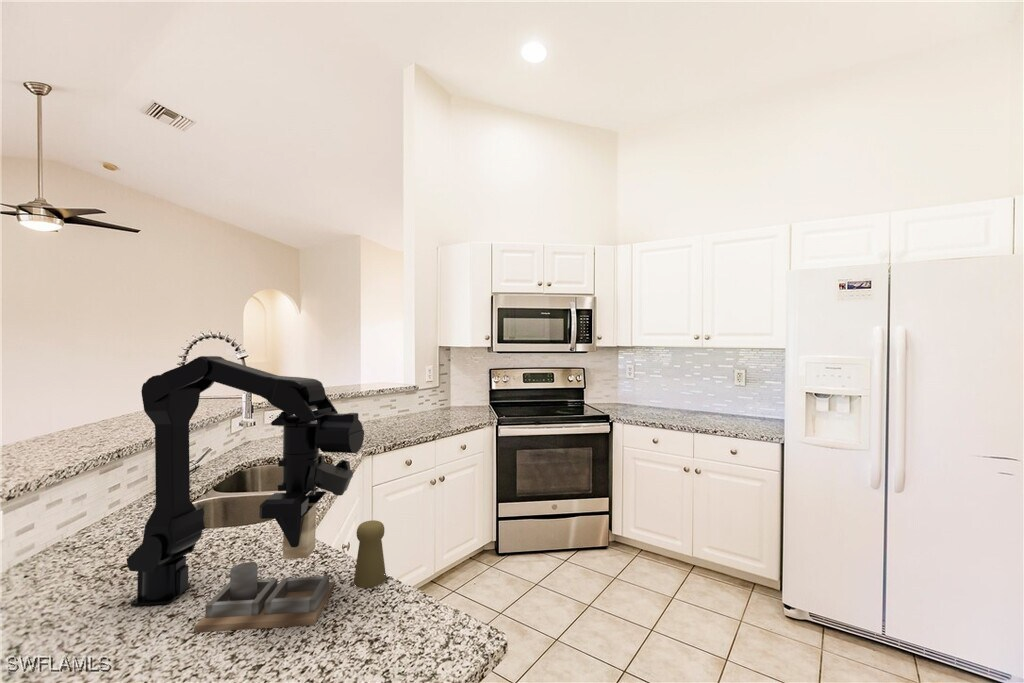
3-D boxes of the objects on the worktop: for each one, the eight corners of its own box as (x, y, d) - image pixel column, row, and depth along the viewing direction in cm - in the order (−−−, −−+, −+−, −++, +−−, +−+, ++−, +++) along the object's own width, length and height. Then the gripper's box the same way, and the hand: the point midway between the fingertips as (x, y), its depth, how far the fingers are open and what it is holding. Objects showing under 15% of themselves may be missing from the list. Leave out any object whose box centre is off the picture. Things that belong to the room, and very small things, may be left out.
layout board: (194, 632, 71) (195, 586, 71) (232, 592, 83) (233, 553, 83) (314, 624, 73) (315, 580, 73) (334, 586, 85) (335, 549, 85)
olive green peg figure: (376, 589, 84) (377, 529, 84) (347, 586, 85) (348, 527, 85) (391, 574, 90) (392, 518, 90) (363, 571, 91) (364, 515, 91)
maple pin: (282, 559, 76) (283, 511, 77) (291, 549, 80) (292, 503, 81) (307, 558, 77) (308, 510, 77) (315, 548, 81) (315, 502, 81)
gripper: (334, 463, 71) (332, 564, 70) (360, 440, 89) (359, 520, 89) (259, 464, 69) (256, 567, 69) (301, 441, 88) (299, 522, 88)
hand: (299, 541), depth 79 cm, fingers closed on maple pin, 4 cm apart
